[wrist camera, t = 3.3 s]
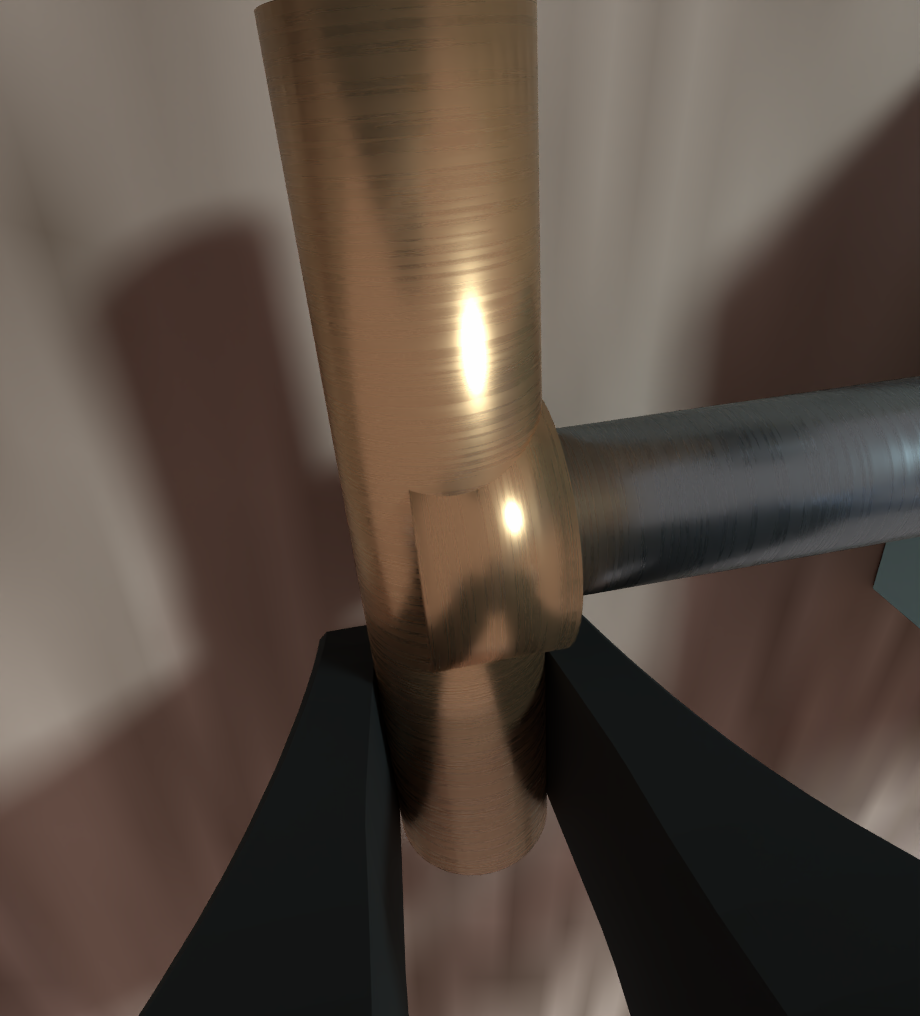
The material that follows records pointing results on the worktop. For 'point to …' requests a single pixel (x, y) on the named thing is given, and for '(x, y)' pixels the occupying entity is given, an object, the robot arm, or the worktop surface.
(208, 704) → the worktop surface
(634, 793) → the robot arm
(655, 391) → the worktop surface
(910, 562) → the block
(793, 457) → the t-handle rod
